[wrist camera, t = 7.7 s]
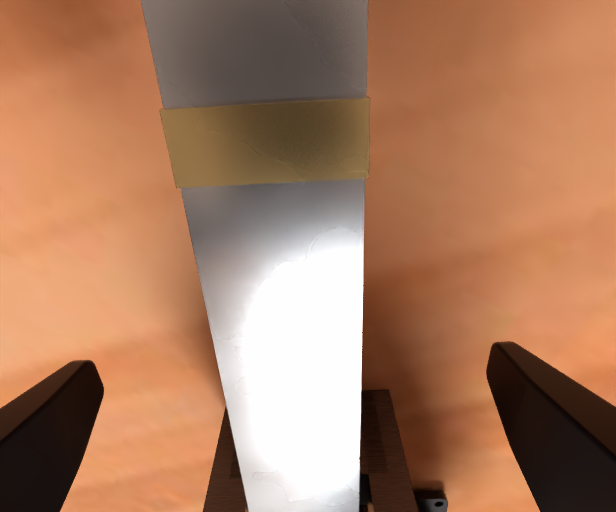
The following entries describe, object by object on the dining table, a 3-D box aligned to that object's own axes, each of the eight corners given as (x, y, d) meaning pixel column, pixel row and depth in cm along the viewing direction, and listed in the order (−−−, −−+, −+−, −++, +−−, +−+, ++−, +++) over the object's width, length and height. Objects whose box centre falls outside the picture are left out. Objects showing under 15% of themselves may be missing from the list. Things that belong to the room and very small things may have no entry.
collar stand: (386, 419, 19) (424, 595, 13) (233, 425, 20) (200, 602, 13) (421, -131, 10) (613, -416, 4) (122, -111, 10) (-169, -354, 4)
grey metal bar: (349, 517, 16) (358, 612, 14) (275, 520, 16) (268, 615, 14) (349, -314, 6) (386, -611, 3) (143, -298, 6) (9, -579, 3)
